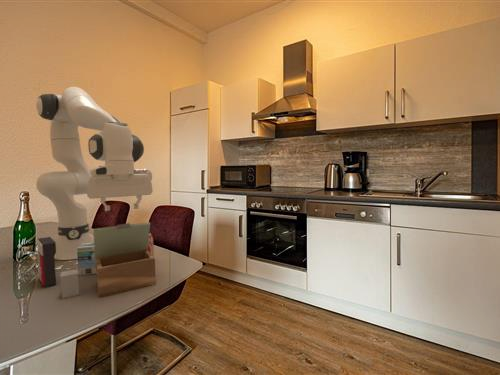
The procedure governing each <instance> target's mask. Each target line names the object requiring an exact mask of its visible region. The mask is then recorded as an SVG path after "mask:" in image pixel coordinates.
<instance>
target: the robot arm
mask: <svg viewBox="0 0 500 375" xmlns="http://www.w3.org/2000/svg"><path fill="white" fill-rule="evenodd" d="M35 105H36V111H37V113H38V115H39V117H41V118H42V119H45V120H48V121H50V127H49V128H50V129H49V138H50V146H51V147H50V148H51V153H52V155H51V156H52V158H53V159H54V160H55V161H56V162H57V163H58V164H61V165H63V166H64V167H65V168H66V170H67V171H65V170H64V171H63V170H62V171H51V172H45V173H41V174H40V175H39V176H38V178H37V179H36V183H35V184H36V189H37V191H38V193H40V194H41V195H42V196H44V197H45V198H48V199H49V200H50V202H51V203H53V205H54V207H55V209H56V213H57V219H58V220H57V221H58V226H57V235H58V236H57V237H56V238H55V240H54V241H55V243H56V254H55V255H54V259H55V260H58V261H67V260H68V261H70V260H76V259H77V260H78V257H77V248H78V247H79V246H80V245H81V244H82V243H93V242H94V234H91V233H90V232H89V231H90V226H89V223H88V210H87V207H86V206H85V205H84V204H82V203H79V202H77V201H76V200H75V198H74V196H77V195H86V196H87V197H88V199H90V200H91V199H92V200H93V199H94V200H95V199H100V202H101V203H102V205H103V206H104V211H105V212H111V206H110V205H107V203H106V201H107V200H106V199H107V198H110V199H111V198H121V197H136V199H137V200H136V201H135V202H134V203H133V209H137V210H138V209H139V208H140V205H139V204H140V203H141V200H142V198H143V196H150V195H152V194H153V184H152V180H153V173H152V171H151V170H148V169H147V168H143V169H140V168H139V169H137V168H136V169H135V163H136V162H138V161H139V160H140V159H141V158H142V156H143V155H144V153H145V152H144V151H145V147H144V144H143V142H142V141H141V139H140V138H139V137H138V136H137V135H134V134H133V133H132V129H131V126H130V125H129V124H127V123H126V122H120V121H119V120H118V119H117V118H116V117H115V116H113V115H112V114H111V113H109V112H107V110H105V109H103V108H102V107H100V105H99V104H97V102H96V101H95V100H94V99H93V98H92V96H90V94H89V93H88V92H86V90H84V89H83V88H81V87H77V86H70V87H67V88H65V89H64V90H63V91H62V94H54V93H43V94H41V95H39V96H38V98H37V100H36V104H35ZM79 127H81V128H85V129H88V130H89V129H90V130H95V131H99V132H98V133H95V134H94V135H92V136H91V137H90V138H88V146H87V147H88V153H89V155H90V156H91V157H92V158H93V159H94V160H97V161H104V165H100V166H97V167H94V168H90V167H89V166H88V164H87V163H86V162H85V159H84V156H83V153H82V152H83V151H82V147H81V141H80V140H81V139H80V135H79V129H78V128H79Z"/></svg>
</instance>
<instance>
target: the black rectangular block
mask: <svg viewBox="0 0 500 375" xmlns="http://www.w3.org/2000/svg"><path fill="white" fill-rule="evenodd" d="M36 243H37V251H36V252H37V264H38V278H39V280H40V283H41V284H42V286H43V287H45V288H49V287H52V286H56V285H57V276H56V261H55V260H56V259H54V255H55V254H56V243H55V240H54V239H53V238H52V237H50V236H48V237H47V236H46V237H41V238H38V239H37V240H36Z"/></svg>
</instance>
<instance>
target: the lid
mask: <svg viewBox="0 0 500 375" xmlns="http://www.w3.org/2000/svg"><path fill="white" fill-rule="evenodd" d="M150 230H151V222H141V223H133V224H131V223H129V222H128V223H121V224H120V223H119V224H116V225H114V226H107V227H97V228H96V227H95V228H93V242H94V253H95V258H101V257H106V256H112V255H118V254H124V253H130V252H136V251H142V250H148V242H149V233H150Z"/></svg>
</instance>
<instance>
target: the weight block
mask: <svg viewBox="0 0 500 375" xmlns="http://www.w3.org/2000/svg"><path fill="white" fill-rule="evenodd" d="M59 277H60V289H61V299H62V298H63V299H65V298H64V297H67V298H72V297H75V296H79V295H80V283H79V281H80V280H79V275H78V268H76V269H71V270H66V271H61V272H60V276H59ZM71 296H72V297H71Z"/></svg>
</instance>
